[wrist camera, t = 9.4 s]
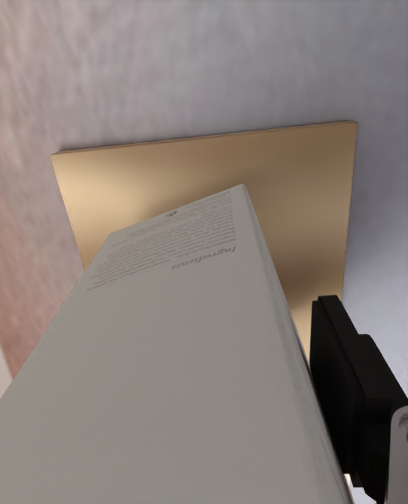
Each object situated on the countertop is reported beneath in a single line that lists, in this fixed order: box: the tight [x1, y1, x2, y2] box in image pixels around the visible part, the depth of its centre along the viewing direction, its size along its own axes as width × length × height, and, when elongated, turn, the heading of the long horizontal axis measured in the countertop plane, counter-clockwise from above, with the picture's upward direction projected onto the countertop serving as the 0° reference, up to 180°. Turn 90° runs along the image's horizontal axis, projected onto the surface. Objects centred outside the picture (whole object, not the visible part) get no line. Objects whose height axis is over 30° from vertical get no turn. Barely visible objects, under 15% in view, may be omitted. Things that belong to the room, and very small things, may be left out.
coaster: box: [50, 121, 358, 362], centre depth 16 cm, size 12×12×1 cm
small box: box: [0, 184, 355, 504], centre depth 9 cm, size 8×6×10 cm
